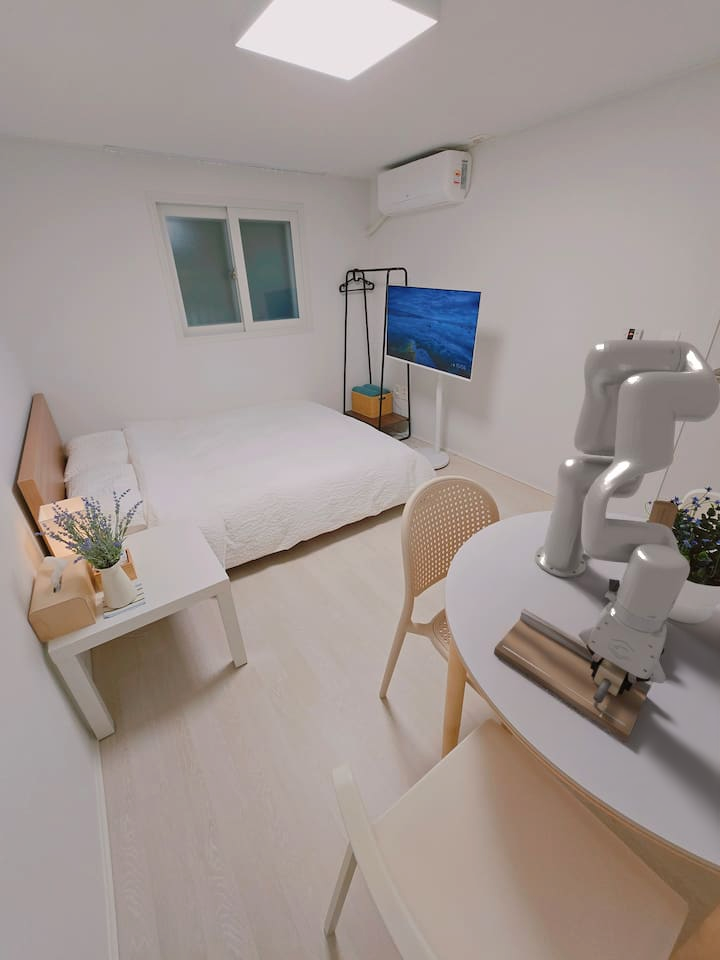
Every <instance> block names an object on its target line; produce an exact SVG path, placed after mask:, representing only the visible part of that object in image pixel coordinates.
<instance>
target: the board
mask: <svg viewBox="0 0 720 960" xmlns="http://www.w3.org/2000/svg"><path fill="white" fill-rule="evenodd" d="M493 654H494V655H496V656H497V657H499V658H500V659H501V660H503V661H504V662H506V663H508V665H510V666H512V667H513V668H514V669H516V670H518V671H520V672H521V673H523V674H524V675H526V676H527V677H529V679H532V680H533V681H534V682H535V683H537V684H539V685H540V686H541V687H543V688H545V689H546V690H548V691H549V692H551V693H552V694H554V695H555V696H556V697H558V698H560V700H563V701H564V702H566V703H567V704H568V705H570V706H572V707H573V708H574V709H576V710H578V711H579V712H580V713H582V714H584V715H585V716H586V717H587V718H589V719H591V720H592V721H594V722H595V723H597V724H598V725H600V726H601V727H602V728H604V729H606V730H607V731H608V732H610V733H612V734H613V735H614V736H616V737H617V738H619V739H620V740H622V741H624V742H625V743H626V742H627V740H628V739H629V736H630V735H631V732H632V731H633V727H634V725H635V723H636V720H637V719H638V716H639V714H640V711H641V710H642V707H643V705H644V702H645V701H646V698H647V696H648V693H649V691H650V689H651V687H652V685H653V684H654V682H652V681H648V682H636V683H633V684H632V686H631V689H630V691H627V690H624V692H623V694H622V695H621V694H619V692H618V693H617V695H616V696H615V695H613V694H611V693H610V692H607V694H606V695H605V697H604V699H603V701H602V703H598V706H597V707H595V706H594V705H593V704H594V702H595V700H594V698H593V697H594V695H595V693H596V691H597V690H598V688H599V686H598V685H597V684H595V683H594V682H593V680H594V678H593V677H591V675H592V672H593V670H592V669H590V667H591V664H592V661H593V660H592V655H591V653H590V651H589V650H588V648H587V646H586V644H585V643H584V642H583V641H582V640H581V639H579V638H578V637H577V638H576V637H575V636H574V635H572V634H570V633H568V632H566V631H564V630H563V629H561V628H559V627H558V626H556V625H554V624H552V623H551V622H549V621H547V620H545V619H543V618H541V617H540V616H538V615H536V614H535V613H533V612H531V611H529V610H527V609H525V608H523V609H522V610H521V612H520V617H519V619H518V620H517V622H515V624H514V625H513V626H512V628H511V629H510V630H509V631H507V633H506V634H505V635H504V637H503V638H501V640H499V642H498V643H497V644H496V646H495V647H494V650H493Z"/></svg>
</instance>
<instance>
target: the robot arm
mask: <svg viewBox="0 0 720 960" xmlns="http://www.w3.org/2000/svg"><path fill="white" fill-rule="evenodd" d="M583 368H584V369H583V374H584V375H583V376H584V385H585V390H584V392H585V393H584V398H583V402H582V405H581V410H580V413H579V417H578V421H577V424H576V428H575V432H574V436H573V437H574V438H573V444H574V447H575V449H576V450H577V452H580V453H581V454H584V455H575V456H570V457H566V458H564V460H562V461H561V462H560V464H559V465H558V469H557V479H556V480H557V481H556V483H557V484H556V491H555V498H554V503H553V508H552V511H551V515H550V520H549V524H548V527H547V532H546V535H545V540H544V542H543V545H542V546H541V547H538V549H536V552H535V554H534V559H535V562H536V563H537V564H538V566H539V567H541V569H543V570H544V571H546V572H547V573H549V574H551V575H554V576H557V577H561V578H562V577H563V578H570V579H571V578H577V577H579V576H581V575H583V574H584V573H585V571H586V568H587V564H586V561H585V559H584V558H583V554H584V553H585V555H587V556H589V557H590V558H592V559H594V560H598V561H603V562H604V561H606V562H610V563H611V562H613V563H615V562H616V563H623V564H624V563H625V564H627V565H626V568H625V571H624V574H623V576H622V578H621V580H620V586H619V589H618V591H617V592H615V593H614V592H611V591H609V590H607V591H606V593H605V594H604V598H606V599H608V600H609V602H608V603H607V604H606V606H604V608H603V609H602V610H601V612H600V613H599V615H598V617H597V619H596V622H595V623H594V626H592V627H589V628H587V629H583V630H581V631H580V632H579V633H578V637H579V638H580V639H579V640H581V641H582V642H584V643H585V644H586V646H587V648H588V650H589V651H590V653H591V655H592V660H593V661H592V664H591V667H590V669H592V670H593V672H592V675H591V677H593V678H595V675H596V673H597V671H598V668H599V666H600V664H601V662H602V661H603V659H604V658H605V659H607V660H608V661H610V662H612V663H614V664H615V665H617V666H619V667H621V668H622V669H624V670H626V671H628V672H627V674H626V676H625V678H624V680H623V682H622V684H621V686H620V689H619V691H618V692H619V694H621V695H622V694H623V692H624V690H627V691H630V689H631V686H632V684H633V683H636V682H648V681H652V682H653V683H658V684H664V683H665V681H666V674H665V672H664V670H663V667H662V665H661V662H660V658H661V656H662V655H661V653H662V650H663V647H664V648H665V643H666V640H667V632H668V629H667V628H668V627H667V625H666V621H668V617H669V616H670V614H671V612H672V610H673V608H674V606H675V604H676V601H677V599H678V598H679V595H680V594H681V591H682V589H683V587H684V585H685V583H686V581H687V579H688V577H689V574H690V571H691V566H690V562H689V561H688V559H687V558H686V557H685V556H684V555H683V554H682V553H680V549H679V547H678V546H679V545H678V543H677V537H676V536H675V535H674V532H673V530H672V531H671V529H670V528H668V527H667V526H665V525H663V524H659V523H652V522H648V521H637V520H631V519H629V520H628V519H619V518H617V519H616V518H606V517H607V516H606V515H607V514H606V513H607V507H608V503H609V500H610V498H611V499H628V498H632V497H634V496H635V495H636V494H637V493H638V491H639V489H640V488H641V485H642V483H643V480H644V478H645V475H646V474H650V473H651V474H652V473H654V472H659V471H661V470H665V469H667V468H669V467H670V466H671V465H672V464H673V461H674V449H675V435H676V422H684V423H685V422H687V423H699V422H700V423H701V422H704V421H707V420H708V419H710V418H712V416H713V415H714V414H715V413H716V411H717V410H718V408H719V404H720V383H719V380H718V378H717V375H716V374H715V372H714V369H712V367H711V365H709V363H708V361H706V359H705V357H704V356H703V355H702V353H701V352H700V351H699V349H698V348H697V347H696V346H694V345H693V344H692V343H689V342H688V341H681V340H661V339H659V340H655V339H653V340H647V339H614V340H605V341H600V342H598V343H596V344H595V345H593V346H592V347H591V348H590V349H589V351H588V353H587V355H586V358H585V361H584V367H583ZM585 455H586V456H585ZM588 455H590V456H588ZM610 601H611V602H610ZM660 655H661V656H660Z"/></svg>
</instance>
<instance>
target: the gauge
mask: <svg viewBox="0 0 720 960" xmlns="http://www.w3.org/2000/svg"><path fill="white" fill-rule="evenodd" d="M627 672H628V671H626V670H624V669H622V668H621V667H619V666H617V665H615V664H614V663H612V662H610V661H608V660H607V659H605V658H604V659H603V661H602V662H601V664H600V666H599V668H598V671H597V673H596V675H595V678H594V680H593V682H594V683H595V684H597V685H598V686H599V688H598V690H597V691H596V693H595V695H594V697H593V698H594V700H595V702H594V704H593V705H594V706H595V707H597V706H598V703H602V701H603V699H604V697H605V695H606V694H607V692H610V693H611V694H613V695H615V696H616V695H617V693H618V691H619V689H620V686H621V684H622V682H623V680H624V678H625V676H626V674H627Z"/></svg>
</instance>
